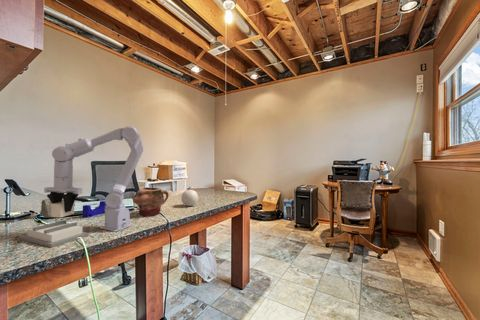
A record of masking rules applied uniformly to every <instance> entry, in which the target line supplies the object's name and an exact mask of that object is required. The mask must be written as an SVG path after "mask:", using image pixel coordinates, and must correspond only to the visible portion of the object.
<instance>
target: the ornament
mask: <svg viewBox="0 0 480 320" xmlns="http://www.w3.org/2000/svg"><path fill="white" fill-rule="evenodd" d="M198 201H199V195H198V192H197V191H195V190H194V189H192V187H191V186H188V189H186V190H185V191H184V192H183V193H182V195H181V202H182V204H183V205H184V206H186V207H193V206H195V205H196V204H197V202H198Z"/></svg>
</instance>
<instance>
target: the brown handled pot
mask: <svg viewBox="0 0 480 320" xmlns="http://www.w3.org/2000/svg"><path fill="white" fill-rule="evenodd" d="M164 194H165V196H164ZM168 198H169V192H168V191H167V190H165V189H164V190H162V188H159V187H143V188H140V189H138V190H137V192H136V194H135V197H133V203H135V205H137V207H138V214H139V215H140V216H142V217H154V216H158V215H159V214H160V213H161V207H162V206H163V205H165V203H166V202H167V200H168Z"/></svg>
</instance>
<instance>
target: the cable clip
mask: <svg viewBox="0 0 480 320" xmlns="http://www.w3.org/2000/svg"><path fill="white" fill-rule="evenodd" d="M105 206H106V204H105V200H100V201H99V204H98V206H95V207H94V208H93V209H92V205H90V204H84V205H82V218H85V219H86V218H91V217H94V216H97V215H100V214H103V213H104V214H105V212H104V209H105ZM92 210H93V211H92Z"/></svg>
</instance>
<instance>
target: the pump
mask: <svg viewBox="0 0 480 320" xmlns="http://www.w3.org/2000/svg"><path fill="white" fill-rule="evenodd" d="M75 203H76V202H74V204H73V206H72V209H71V211H69V212H65V209H64V201H63V202H58V203H53V204H51V217H50V218H63V217H67V216H71V215H74V214H75V206H76V204H75Z"/></svg>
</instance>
